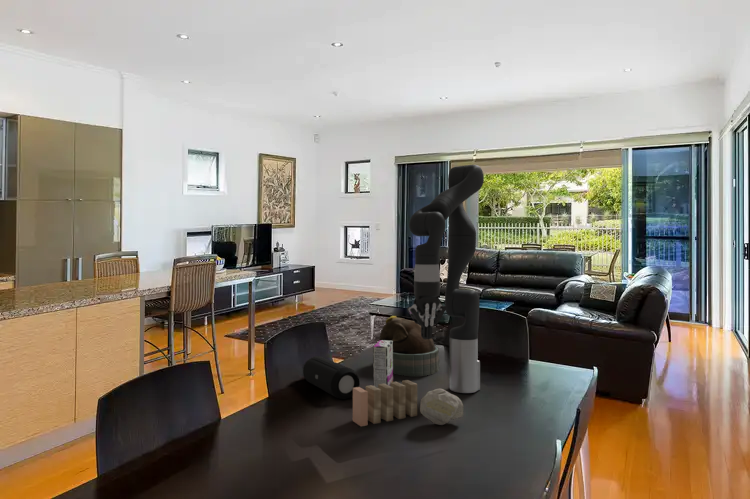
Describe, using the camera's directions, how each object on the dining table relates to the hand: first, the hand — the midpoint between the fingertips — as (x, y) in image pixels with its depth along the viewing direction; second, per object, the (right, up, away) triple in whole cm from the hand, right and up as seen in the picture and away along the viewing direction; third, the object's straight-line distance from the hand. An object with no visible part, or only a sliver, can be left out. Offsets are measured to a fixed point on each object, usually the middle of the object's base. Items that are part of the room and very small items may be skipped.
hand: (426, 338), depth 143 cm
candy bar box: (-12, -21, +18) cm, 31 cm away
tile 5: (-19, -21, -11) cm, 30 cm away
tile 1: (-5, -21, -3) cm, 22 cm away
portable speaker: (-30, -21, +20) cm, 42 cm away
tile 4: (-16, -21, -9) cm, 28 cm away
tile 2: (-9, -21, -5) cm, 23 cm away
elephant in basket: (-3, -22, +44) cm, 49 cm away
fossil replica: (+3, -21, -13) cm, 25 cm away
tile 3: (-12, -21, -7) cm, 25 cm away
